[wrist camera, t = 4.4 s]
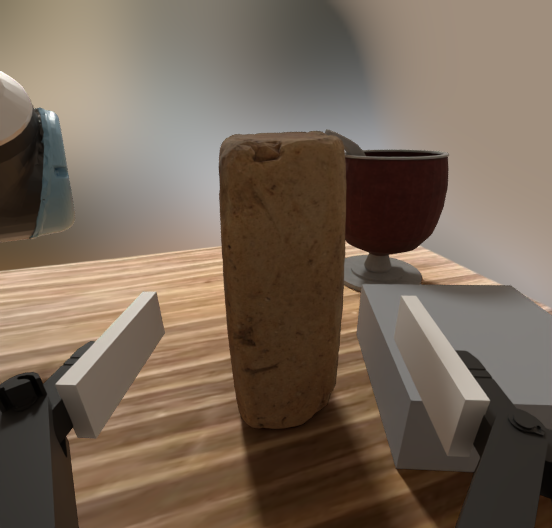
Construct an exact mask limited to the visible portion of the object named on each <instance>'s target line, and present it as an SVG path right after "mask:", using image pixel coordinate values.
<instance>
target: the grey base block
mask: <svg viewBox="0 0 552 528" xmlns="http://www.w3.org/2000/svg"><path fill="white" fill-rule="evenodd" d="M401 296H417V298H418V299H419V300H420V302H421V303H422V305H423V306H424V308H425V309H426V310H427V312H428V313H429V315H430V316H431V317H432V319H433V320H434V322H435V323H436V325H437V326H438V327H439V329H440V330H441V332H442V333H443V334H444V336H445V337H446V339H447V340H448V341H449V343H450V344H451V346H452V347H453V349H454V350H463V351H468V352H469V353H471V354H472V355H473V356H475V357H476V358H477V359H478V360H479V361H480V362H481V363H482V365H483V366H484V367H485V368H486V371H488V372H489V374H490V375H491V376H492V379H494V380H495V381H496V383H497V384H498V385H499V386H500V388H501V389H502V390H503V392H504V393H505V394H506V395H507V397H508V398H509V399H510V400H511V402H512V403H513V404H514V406H515V407H516V408H518V409H521V410H524V411H526V412H528V413H530V414H531V415H533V416H535V417H536V418H537V419H538V420H539V421H540V422H542V423H543V425H544V426H545V428H547V429H550V430H552V315H550V314H549V313H548V312H546V311H545V310H544V309H542V308H541V307H539V306H538V305H537V304H535V303H534V302H533V301H531V300H530V299H528V298H527V297H526V296H524V295H523V294H522V293H520V292H519V291H518V290H516V289H515V288H513V287H512V286H505V285H403V284H362V288H361V297H360V306H359V316H358V325H357V337H358V341H359V344H360V347H361V351H362V354H363V358H364V361H365V364H366V368H367V371H368V375H369V378H370V381H371V385H372V388H373V392H374V395H375V398H376V402H377V405H378V409H379V412H380V415H381V419H382V422H383V426H384V429H385V432H386V436H387V439H388V443H389V446H390V449H391V453H392V456H393V460H394V463H395V466H396V468H399V469H419V470H440V471H461V472H475V469H476V467H477V464H478V461H479V459H480V456H479V454H478V452H477V451H476V449H475V447H474V446H473V449H472V452H471V454H470V457H459V456H447V454H446V452H445V450H444V448H443V446H442V443H441V441H440V439H439V437H438V435H437V432H436V430H435V428H434V426H433V424H432V421H431V419H430V417H429V415H428V413H427V410H426V408H425V406H424V404H423V402H422V399H421V397H420V395H419V393H418V391H417V389H416V386H415V384H414V382H413V380H412V378H411V375H410V373H409V371H408V369H407V367H406V364H405V362H404V360H403V358H402V356H401V353H400V351H399V349H398V347H397V345H396V342H395V340H394V334H395V328H396V322H397V316H398V310H399V305H400V299H401Z"/></svg>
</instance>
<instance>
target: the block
mask: <svg viewBox="0 0 552 528" xmlns="http://www.w3.org/2000/svg"><path fill="white" fill-rule="evenodd" d="M219 176H220V193H219V200H220V220H221V242H222V258H223V277H224V291H225V305H226V317H227V330H228V339H229V347H230V355H231V363H232V372H233V379H234V387H235V392H236V399H237V404H238V408H239V412H240V414H241V417H242V419H243V420H244V421H245V423H246V424H247V425H249V426H251V427H253V428H272V429H278V428H288V427H294V426H298V425H302V424H303V423H305V422H306V421H307V420H308V419H310V418H312V416H313V415H314V414H315V413H316V412H317V411H319V410H320V409H322V408H323V407H324V406H325V405H327V404H328V400H329V397H330V392H332V391H333V389H334V387H335V384H336V376H337V366H338V352H339V346H340V331H341V319H342V310H343V289H344V263H345V222H346V163H345V152H344V145H343V141H342V140H341V139H340V138H338V137H337V136H333V135H329V136H328V135H326V134H325V133H323V132H321V131H310V132H308V133H306V132H284V133H258V134H255V135H254V134H247V135H241V134H235V135H232V136H230V137H229V138H226V139H225V140H224V141H223V143H222V145H221V148H220V155H219Z"/></svg>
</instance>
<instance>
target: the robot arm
mask: <svg viewBox="0 0 552 528" xmlns="http://www.w3.org/2000/svg"><path fill="white" fill-rule="evenodd" d="M74 221H75V210H74V204H73V198H72V192H71V187H70V181H69V176H68V169H67V163H66V158H65V151H64V146H63V140H62V134H61V128H60V123H59V118H58V116H57V115H56V114H55V113H54V112H52V111H49V110H44V109H42V108H37V109H36V108H35V109H34V108H33V105H32V103H31V100H30V98H29V96H28V94H27V93H26V91H25V90H24V88H23V87H22V86H21V85H20V84H19V83H18V82H17V81H16V80H14V79H13V78H11V77H10V76H8V75H6V74H5V73H3V72H1V71H0V242H6V241H15V240H22V239H35V238H37V237H38V236H42V235H46V234H52V233H57V232H61V231H65V230H67V229H68V228H70V227H71V226H72V225H73V223H74ZM164 334H165V331H164V326H163V322H162V317H161V312H160V307H159V302H158V298H157V293H156V292H142V293H141V294H140V295H139V296H138V297H137V298H136V299H135V301H134V302H133V303H132V304H131V305H130V306H129V307H128V308H127V309H126V310H125V311H124V312H123V313H122V314H121V315H120V316H119V317H118V318H117V319H116V321H115V322H114V323H113V324H112V325H111V326H110V327H109V328H108V329H107V330H106V331H105V332H104V333H103V334H102V335H101V336H100V337H99V338H98V340H97V341H90V342H88V343H87V344H85V345H84V346H82V347H80V348H79V349H78V350H77V351H76V352H75V353H74V354H73V355H72V356H71V357H70V359H68V360H67V361H66V362H65V363H64V365H63V366H61V367H60V368H59V369H58V370H57V371H56V372H55V373H54V374H53V375H52V376H51V377H50V378H49V379H48V380H47V381H46V382H45V383H44V384H43V383H42V381H41V379H40V377H39V375H38V374H37V373H34V372H30V373H23V374H19V375H16V376H14V377H12V378H10V379H8V380H6V381H5V382H3V383H2V384H0V528H79V525H78V517H77V508H76V500H75V491H74V483H73V474H72V466H71V457H70V449H69V441H68V439H67V437H66V436H67V434H68V433H69V432H70V430H71V429H72V428H74V430H75V433H76V435H77V438H97V437H98V435H99V434H100V432H101V430H102V429H103V427H104V426H105V424H106V423H107V421H108V420H109V418H110V417H111V415H112V414H113V412H114V410H115V409H116V407H117V406H118V404H119V403H120V401H121V400H122V398H123V397H124V395H125V394H126V392H127V390H128V389H129V387H130V386H131V384H132V383H133V381H134V380H135V378H136V377H137V375H138V374H139V372H140V370H141V369H142V367H143V366H144V364H145V363H146V361H147V360H148V358H149V357H150V355H151V354H152V352H153V350H154V349H155V347H156V346H157V344H158V343H159V341H160V340H161V338H162V337H163V335H164ZM394 340H395V342H396V345H397V347H398V349H399V351H400V353H401V356H402V358H403V360H404V362H405V364H406V367H407V369H408V371H409V373H410V375H411V378H412V380H413V382H414V384H415V386H416V389H417V391H418V393H419V395H420V397H421V399H422V402H423V404H424V406H425V408H426V410H427V413H428V415H429V417H430V419H431V421H432V424H433V426H434V428H435V430H436V432H437V435H438V437H439V439H440V441H441V443H442V446H443V448H444V450H445V452H446V454H447V456H459V457H470V454H471V452H472V449H473V446H474V447H475V449H476V451H477V452H478V454H479V456H480V459H479V461H478V464H477V467H476V469H475V472H474V474H473V478H472V481H471V484H470V487H469V489H468V492H467V495H466V498H465V501H464V504H463V506H462V509H461V512H460V515H459V518H458V520H457V523H456V526H455V528H534V526H535V520H536V514H537V508H538V501H539V495H542V496H545V497H547V498H550V499H551V501H552V430H550V429H547V428H545V426H544V425H543V423H542V422H540V421H539V420H538V419H537V418H536V417H535V416H533V415H531V414H530V413H528V412H526V411H524V410H521V409H518V408H516V407H515V406H514V404H513V403H512V402H511V400H510V399H509V398H508V397H507V395H506V394H505V393H504V392H503V390H502V389H501V388H500V386H499V385H498V384H497V383H496V381H495V380H494V379H492V376H491V375H490V374H489V372H488V371H486V368H485V367H484V366H483V365H482V363H481V362H480V361H479V360H478V359H477V358H476V357H475V356H473V355H472V354H471V353H469V352H468V351H463V350H454V349H453V347H452V346H451V344H450V343H449V341H448V340H447V339H446V337H445V336H444V334H443V333H442V332H441V330H440V329H439V327H438V326H437V325H436V323H435V322H434V320H433V319H432V317H431V316H430V315H429V313H428V312H427V310H426V309H425V308H424V306H423V305H422V303H421V302H420V300H419V299H418V298H417V296H401V299H400V305H399V310H398V316H397V322H396V328H395V334H394Z"/></svg>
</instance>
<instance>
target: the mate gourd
mask: <svg viewBox="0 0 552 528" xmlns="http://www.w3.org/2000/svg"><path fill="white" fill-rule="evenodd" d="M325 134H326V135H328V136H329V135H333V136H337V137H338V138H340V139H341V140H342V141H343V145H344V149H345V151H346V152H345V163H346V222H345V240H346V242H347V243H348V244H350V245H352V246H354V247H356V248H359V249H361V250H364V251H367V252H369V255H361V256H353V257H348V258H345V263H344V285H346V286H347V287H349V288H352V289H354V290H357V291H360V292H361V288H362V284H403V285H421V281H422V275H421V273H420V272H419V271H418V269H416V268H415V267H414V266H412V265H410V264H408V263H406V262H403V261H401V260H397V259H394V258H389V255H390V254H396V253H402V252H408V251H411V250H414V249H416V248H417V247H418V246H419V245H420V244H421V243H423V242H424V241H425V240H426V239H427V238H428V237H429V236H430V235H431V234H432V233H433V231H434V229H435V227H436V225H437V223H438V220H439V218H440V215H441V212H442V210H443V207H444V201H445V197H446V192H447V186H448V156H449V154H448V153H446V152H439V151H425V150H362V149H361V148H360V147H359V146H358V145H357V144H356V143H354V142H353V141H351V140H349V139H348V138H346V137H344V136H342V135H340V134H338V133H336V132H333V131H331V130H326V132H325Z"/></svg>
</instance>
